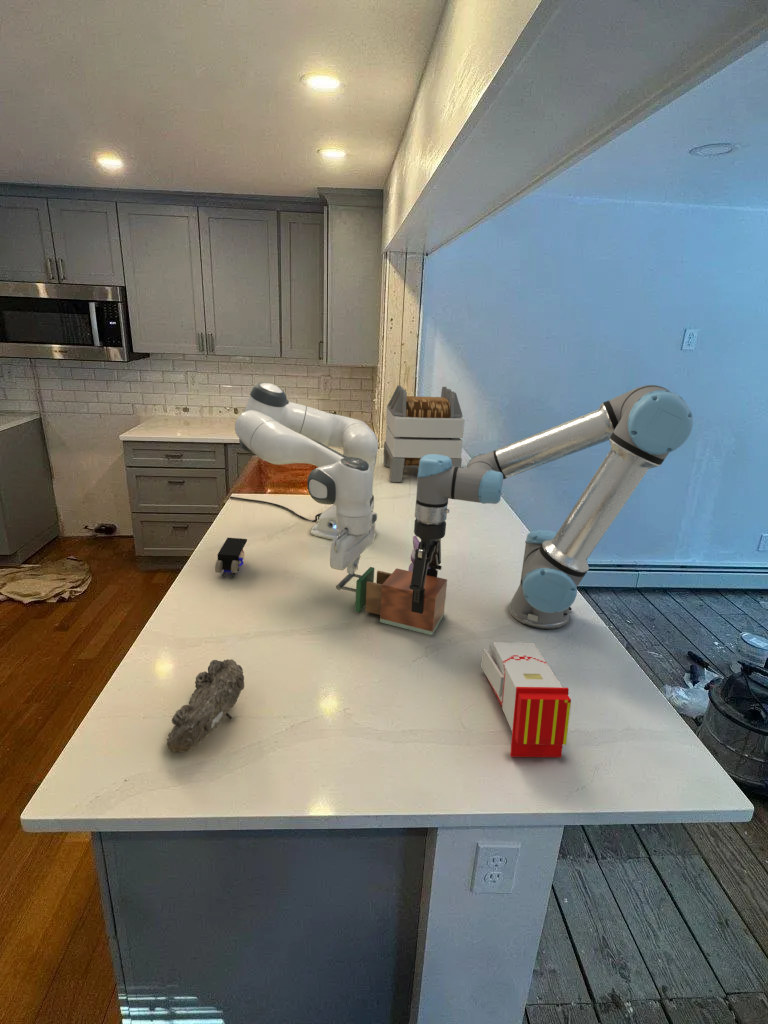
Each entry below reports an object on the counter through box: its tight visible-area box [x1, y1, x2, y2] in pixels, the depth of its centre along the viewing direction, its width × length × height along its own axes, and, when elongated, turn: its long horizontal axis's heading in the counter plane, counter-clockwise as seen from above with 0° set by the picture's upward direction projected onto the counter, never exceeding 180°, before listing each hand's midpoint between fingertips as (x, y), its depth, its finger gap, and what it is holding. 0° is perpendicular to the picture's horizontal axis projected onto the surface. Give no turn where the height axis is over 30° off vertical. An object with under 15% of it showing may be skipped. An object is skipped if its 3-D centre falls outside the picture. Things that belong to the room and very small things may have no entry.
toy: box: [480, 641, 572, 758], centre depth 113 cm, size 12×13×30 cm
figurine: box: [407, 535, 430, 575], centre depth 161 cm, size 9×10×15 cm
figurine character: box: [214, 537, 248, 578], centre depth 166 cm, size 7×8×15 cm
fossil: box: [166, 658, 245, 754], centre depth 106 cm, size 22×10×15 cm
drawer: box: [335, 566, 393, 616], centre depth 147 cm, size 18×9×9 cm, turn 69°
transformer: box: [383, 384, 465, 483], centre depth 268 cm, size 34×33×41 cm
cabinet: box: [379, 568, 448, 636], centre depth 143 cm, size 14×10×11 cm
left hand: (352, 571), depth 148 cm, fingers closed
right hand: (424, 602), depth 142 cm, fingers closed on cabinet, 10 cm apart
